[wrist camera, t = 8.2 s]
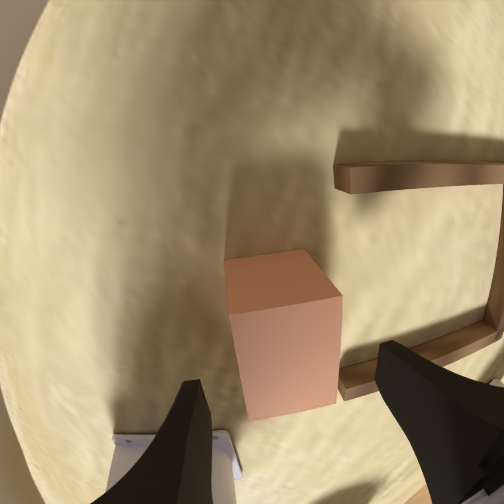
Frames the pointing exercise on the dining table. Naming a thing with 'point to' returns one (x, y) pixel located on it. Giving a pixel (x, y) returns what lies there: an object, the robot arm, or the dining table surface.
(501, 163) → the frame
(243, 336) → the block
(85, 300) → the dining table surface
